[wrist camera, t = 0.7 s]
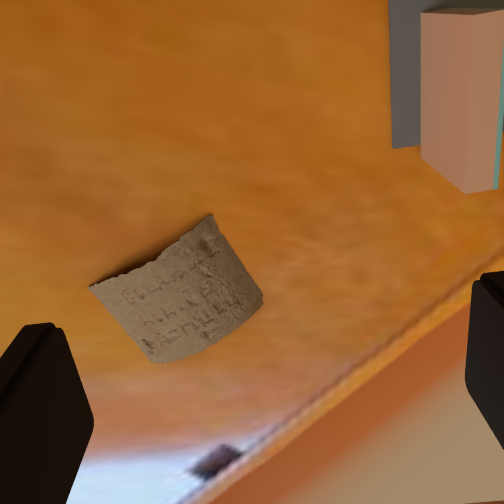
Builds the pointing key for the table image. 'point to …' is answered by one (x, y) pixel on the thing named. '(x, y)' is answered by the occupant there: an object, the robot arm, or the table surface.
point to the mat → (413, 62)
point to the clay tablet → (183, 296)
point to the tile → (463, 95)
